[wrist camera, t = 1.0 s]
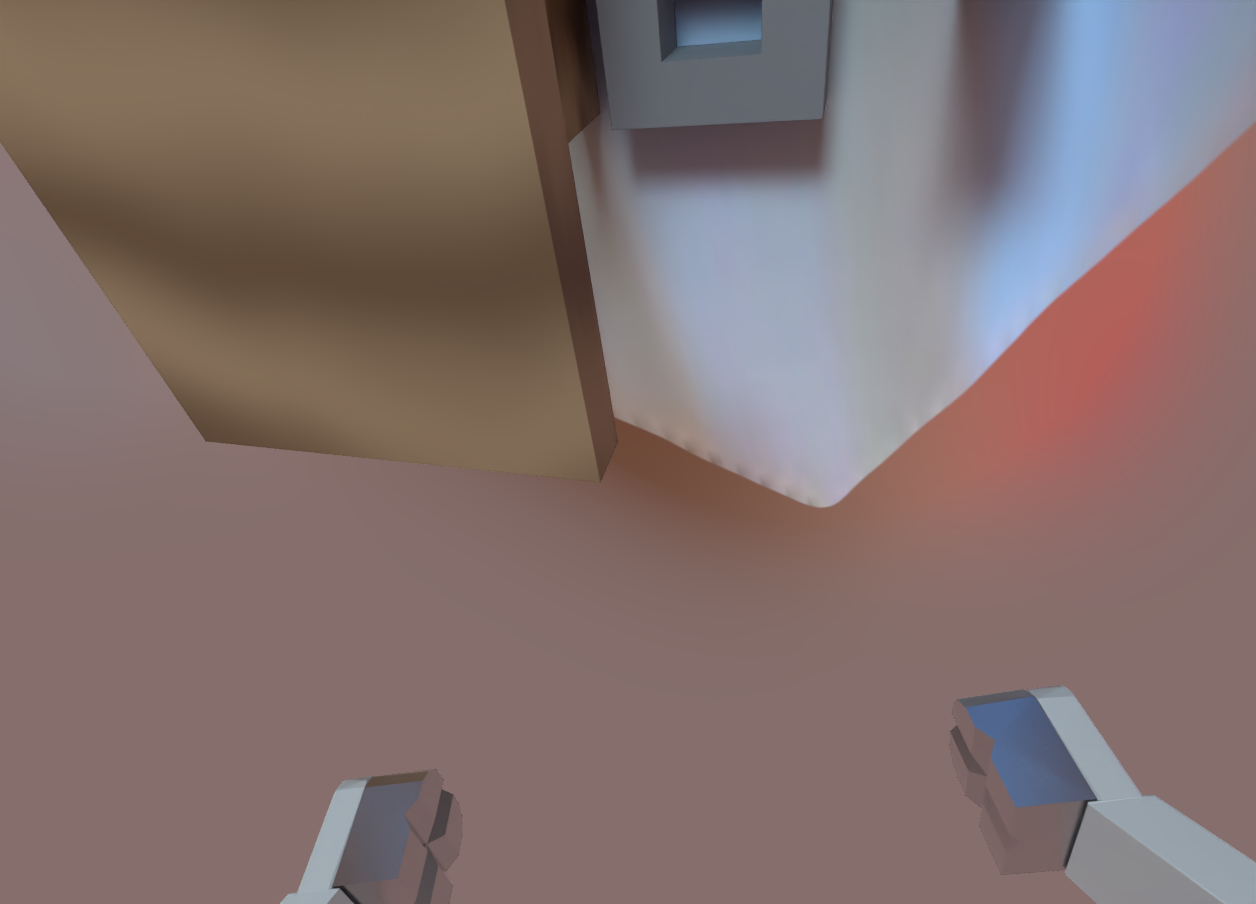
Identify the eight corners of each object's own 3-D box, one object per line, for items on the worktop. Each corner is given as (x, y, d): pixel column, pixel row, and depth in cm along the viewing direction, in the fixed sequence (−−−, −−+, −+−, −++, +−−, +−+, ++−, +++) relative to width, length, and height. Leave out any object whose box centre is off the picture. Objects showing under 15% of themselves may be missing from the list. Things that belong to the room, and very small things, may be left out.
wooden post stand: (540, -130, 35) (-166, -99, 11) (769, -170, 32) (456, -245, 8) (578, 114, 43) (205, 441, 19) (765, 102, 40) (600, 482, 16)
